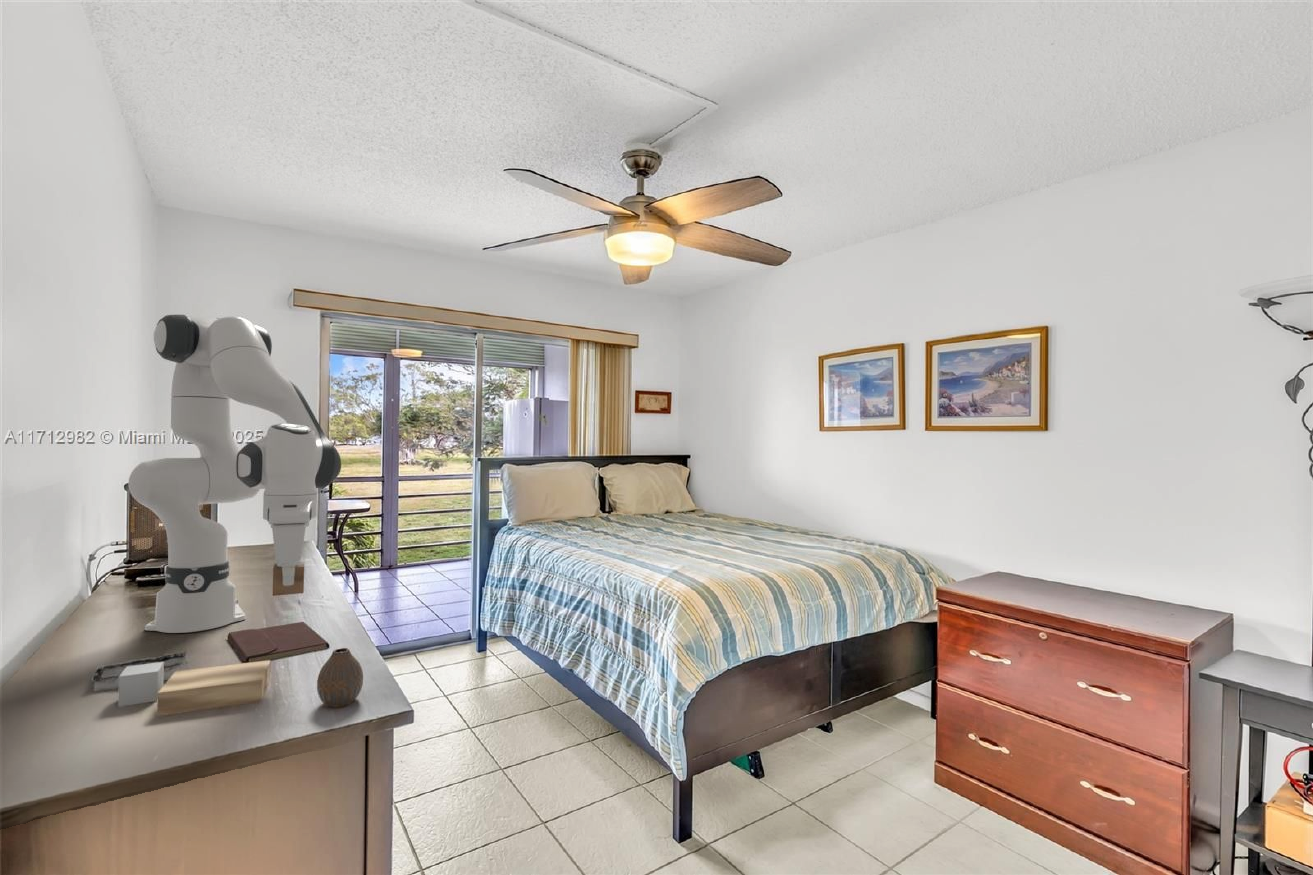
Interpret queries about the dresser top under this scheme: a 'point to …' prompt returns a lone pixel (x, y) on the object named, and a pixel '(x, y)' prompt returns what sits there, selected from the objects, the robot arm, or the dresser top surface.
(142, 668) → the grey block
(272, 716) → the dresser top surface
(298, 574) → the walnut cube
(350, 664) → the vase
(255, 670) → the oak block
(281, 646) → the notebook
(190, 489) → the robot arm
